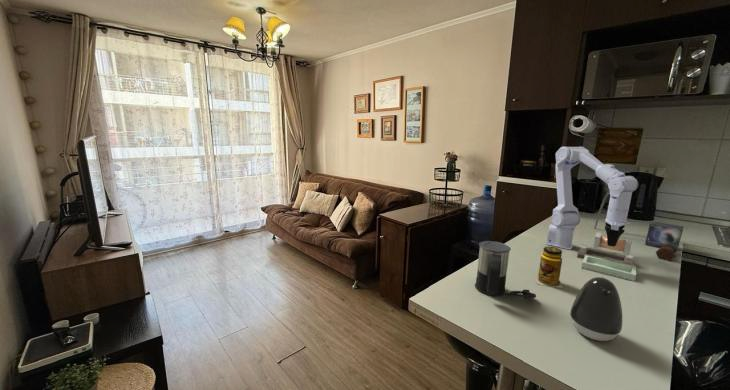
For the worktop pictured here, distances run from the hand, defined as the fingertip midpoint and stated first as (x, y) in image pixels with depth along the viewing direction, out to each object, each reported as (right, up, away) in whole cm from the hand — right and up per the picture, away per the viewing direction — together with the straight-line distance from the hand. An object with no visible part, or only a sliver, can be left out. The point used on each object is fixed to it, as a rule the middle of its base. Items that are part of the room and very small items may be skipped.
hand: (611, 243), depth 111 cm
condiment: (-30, -11, -10) cm, 34 cm away
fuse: (0, -2, +1) cm, 2 cm away
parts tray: (-3, -10, -2) cm, 10 cm away
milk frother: (-49, -13, -18) cm, 54 cm away
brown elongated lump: (+34, -7, +13) cm, 37 cm away
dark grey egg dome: (-35, -17, -37) cm, 54 cm away
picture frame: (+41, -5, +23) cm, 47 cm away
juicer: (+32, -1, +40) cm, 51 cm away
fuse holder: (+4, -8, +8) cm, 12 cm away
